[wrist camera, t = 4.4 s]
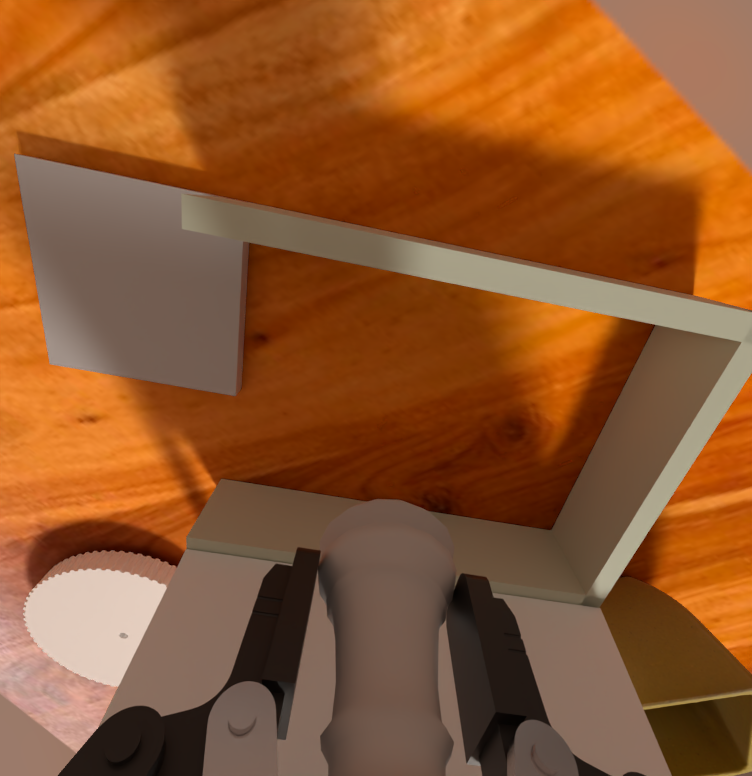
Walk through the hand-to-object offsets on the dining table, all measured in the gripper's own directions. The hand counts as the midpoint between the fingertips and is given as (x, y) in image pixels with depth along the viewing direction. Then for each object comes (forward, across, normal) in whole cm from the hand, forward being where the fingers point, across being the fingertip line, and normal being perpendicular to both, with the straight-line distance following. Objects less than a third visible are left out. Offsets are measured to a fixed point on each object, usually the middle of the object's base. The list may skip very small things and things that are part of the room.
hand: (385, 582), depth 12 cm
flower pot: (+13, -19, +14) cm, 27 cm away
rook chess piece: (+2, 0, 0) cm, 2 cm away
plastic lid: (+13, +16, +22) cm, 29 cm away
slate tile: (+12, +13, -4) cm, 19 cm away
